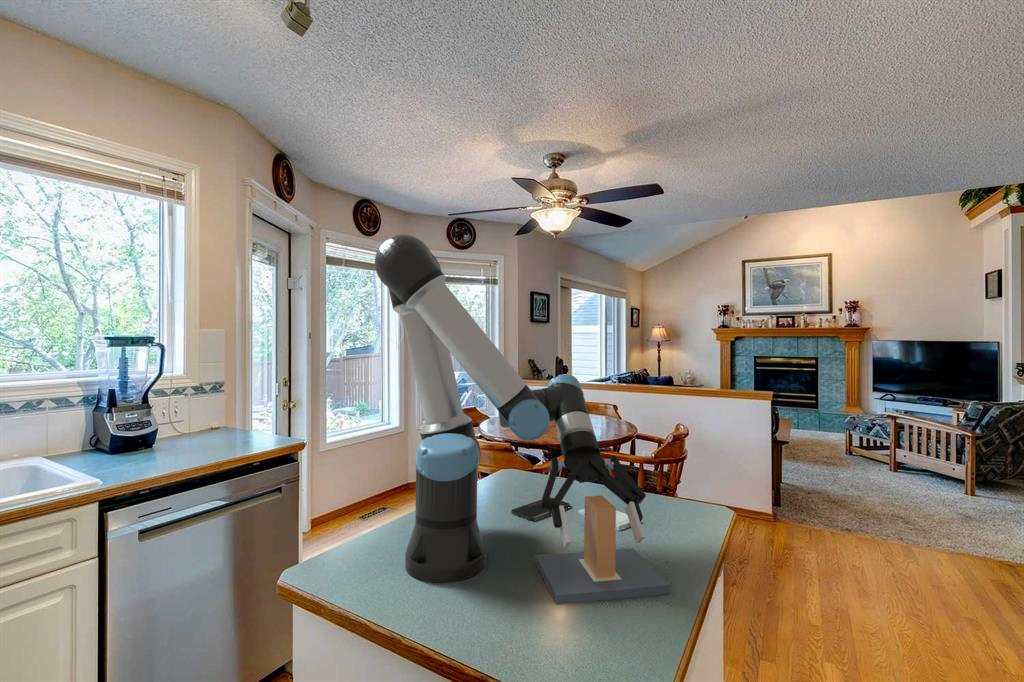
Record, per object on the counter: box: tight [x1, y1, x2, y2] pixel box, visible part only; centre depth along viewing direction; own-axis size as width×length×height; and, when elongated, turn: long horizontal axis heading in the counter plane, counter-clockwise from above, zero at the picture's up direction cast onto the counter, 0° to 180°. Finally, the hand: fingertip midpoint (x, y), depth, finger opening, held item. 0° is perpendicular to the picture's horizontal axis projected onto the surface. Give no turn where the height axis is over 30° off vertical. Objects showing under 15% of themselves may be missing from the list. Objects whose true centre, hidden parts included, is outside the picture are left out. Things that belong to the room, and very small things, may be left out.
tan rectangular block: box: [583, 495, 617, 578], centre depth 82 cm, size 3×6×12 cm, turn 11°
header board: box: [535, 547, 671, 606], centre depth 82 cm, size 20×14×4 cm
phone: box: [510, 497, 571, 522], centre depth 115 cm, size 8×1×15 cm
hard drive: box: [577, 507, 631, 531], centre depth 110 cm, size 2×8×12 cm
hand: (604, 542), depth 80 cm, fingers open, 13 cm apart
